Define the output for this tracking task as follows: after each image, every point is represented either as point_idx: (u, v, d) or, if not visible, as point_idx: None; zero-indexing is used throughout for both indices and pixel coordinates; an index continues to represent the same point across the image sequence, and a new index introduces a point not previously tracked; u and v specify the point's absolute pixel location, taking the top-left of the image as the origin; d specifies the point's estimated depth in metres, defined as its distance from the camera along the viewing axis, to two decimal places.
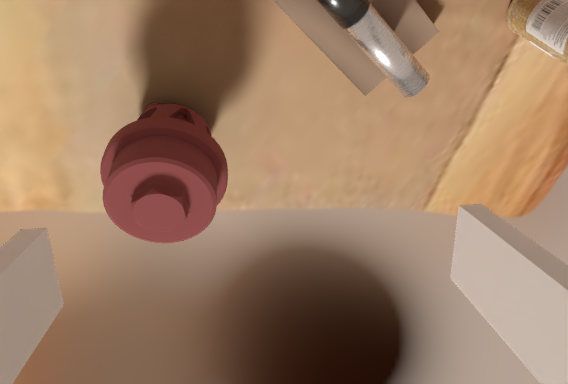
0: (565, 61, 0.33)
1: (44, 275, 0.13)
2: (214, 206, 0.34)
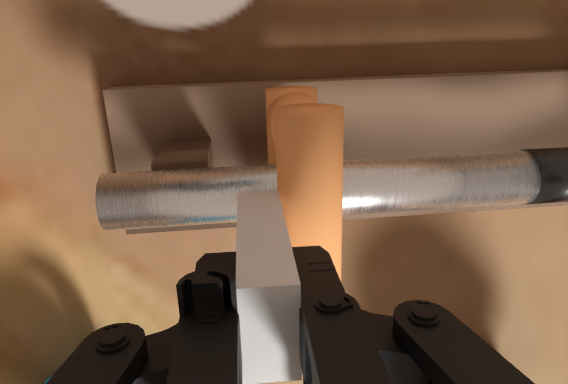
0: None
1: None
2: None
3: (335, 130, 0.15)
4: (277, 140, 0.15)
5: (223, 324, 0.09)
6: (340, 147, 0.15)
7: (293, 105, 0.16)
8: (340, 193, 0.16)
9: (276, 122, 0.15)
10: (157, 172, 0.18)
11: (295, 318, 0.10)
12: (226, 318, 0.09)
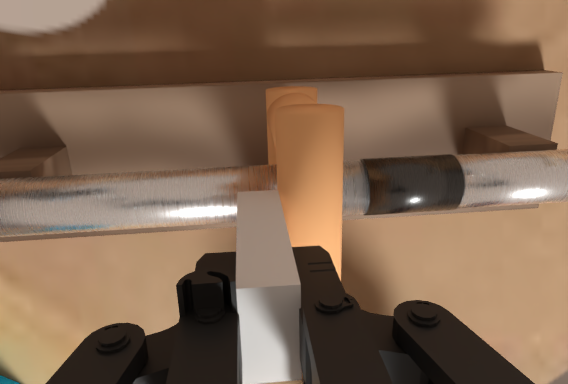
0: None
1: None
2: None
3: (335, 131, 0.15)
4: (277, 140, 0.15)
5: (223, 324, 0.09)
6: (340, 148, 0.15)
7: (293, 105, 0.16)
8: (340, 193, 0.16)
9: (276, 122, 0.15)
10: None
11: (295, 318, 0.10)
12: (226, 318, 0.09)
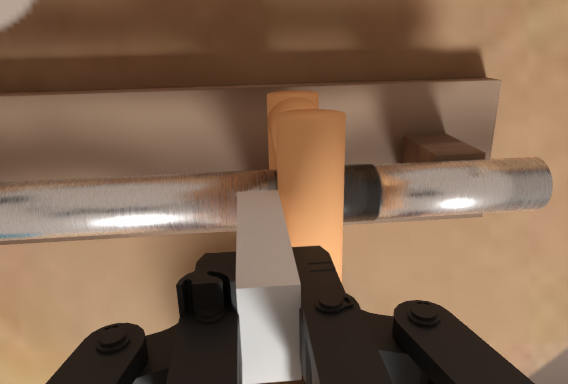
0: None
1: None
2: None
3: (336, 136, 0.15)
4: (278, 146, 0.15)
5: (223, 324, 0.09)
6: (341, 153, 0.15)
7: (294, 111, 0.16)
8: (341, 200, 0.16)
9: (277, 128, 0.15)
10: None
11: (295, 318, 0.10)
12: (226, 318, 0.09)
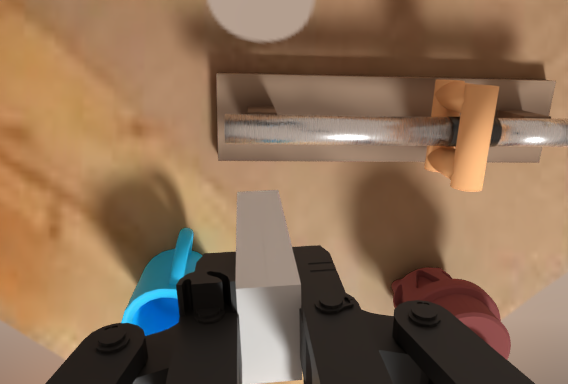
0: None
1: None
2: (504, 329, 0.39)
3: (496, 95, 0.33)
4: (467, 99, 0.33)
5: (223, 324, 0.09)
6: (496, 103, 0.33)
7: (471, 84, 0.34)
8: (492, 126, 0.34)
9: (468, 90, 0.33)
10: (253, 114, 0.36)
11: (295, 318, 0.10)
12: (226, 318, 0.09)
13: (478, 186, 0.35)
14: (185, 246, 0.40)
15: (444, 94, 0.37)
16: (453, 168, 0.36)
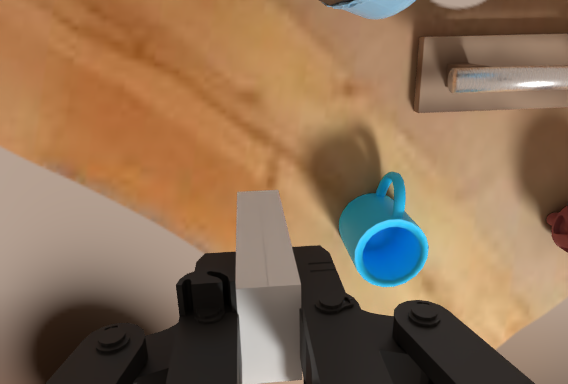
0: None
1: None
2: None
3: None
4: None
5: (223, 324, 0.09)
6: None
7: None
8: None
9: None
10: (477, 67, 0.43)
11: (295, 318, 0.10)
12: (226, 318, 0.09)
13: None
14: (402, 185, 0.48)
15: None
16: None
